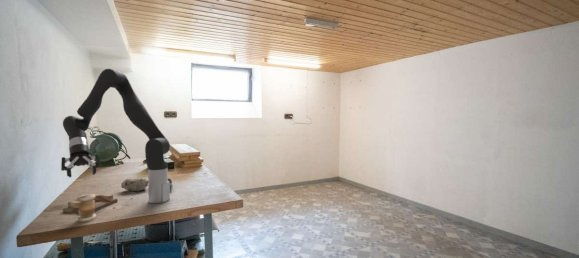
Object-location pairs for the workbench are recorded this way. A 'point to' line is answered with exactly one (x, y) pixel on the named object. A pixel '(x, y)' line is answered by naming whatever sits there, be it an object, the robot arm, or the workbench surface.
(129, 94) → the robot arm
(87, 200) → the bobbin
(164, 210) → the workbench surface
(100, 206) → the notched board
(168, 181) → the flashlight
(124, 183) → the pumice stone
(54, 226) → the workbench surface
